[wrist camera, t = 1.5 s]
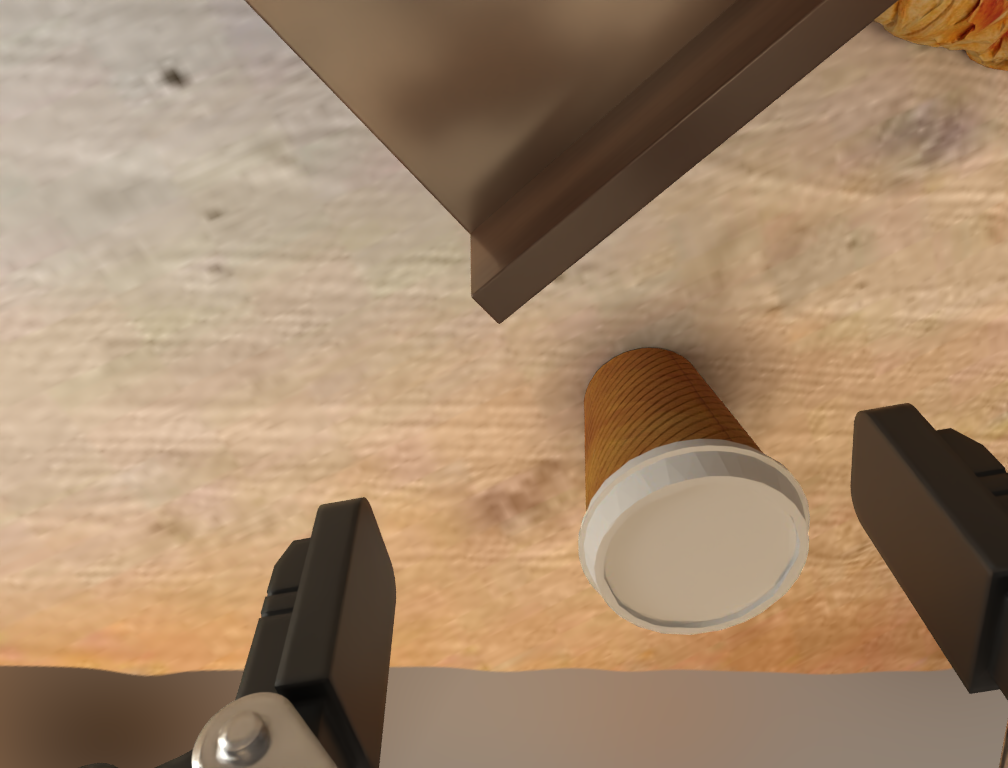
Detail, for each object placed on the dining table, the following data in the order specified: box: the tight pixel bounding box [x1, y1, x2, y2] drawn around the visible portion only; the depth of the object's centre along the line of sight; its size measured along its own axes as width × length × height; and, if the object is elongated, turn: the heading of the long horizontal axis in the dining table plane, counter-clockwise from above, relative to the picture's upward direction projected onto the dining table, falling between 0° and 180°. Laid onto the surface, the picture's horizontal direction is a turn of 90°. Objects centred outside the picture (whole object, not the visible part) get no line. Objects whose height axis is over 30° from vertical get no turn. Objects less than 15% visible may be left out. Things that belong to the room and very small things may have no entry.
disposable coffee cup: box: [578, 348, 810, 635], centre depth 36 cm, size 10×10×12 cm
